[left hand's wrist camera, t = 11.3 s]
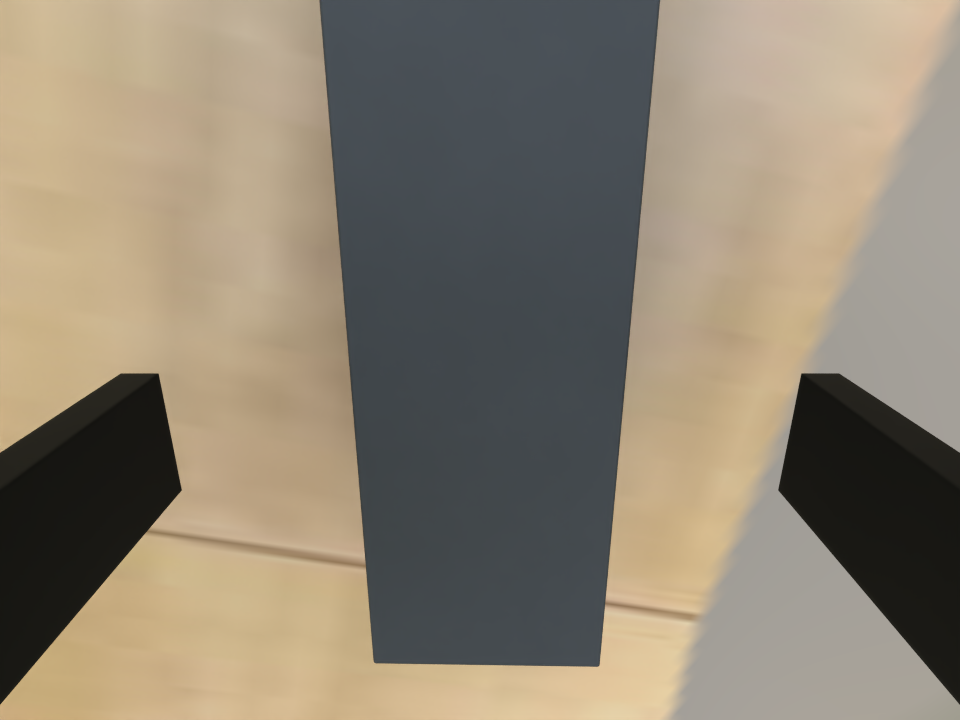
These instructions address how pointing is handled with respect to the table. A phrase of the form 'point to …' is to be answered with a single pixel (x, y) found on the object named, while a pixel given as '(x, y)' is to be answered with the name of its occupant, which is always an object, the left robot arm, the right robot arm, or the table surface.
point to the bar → (488, 309)
